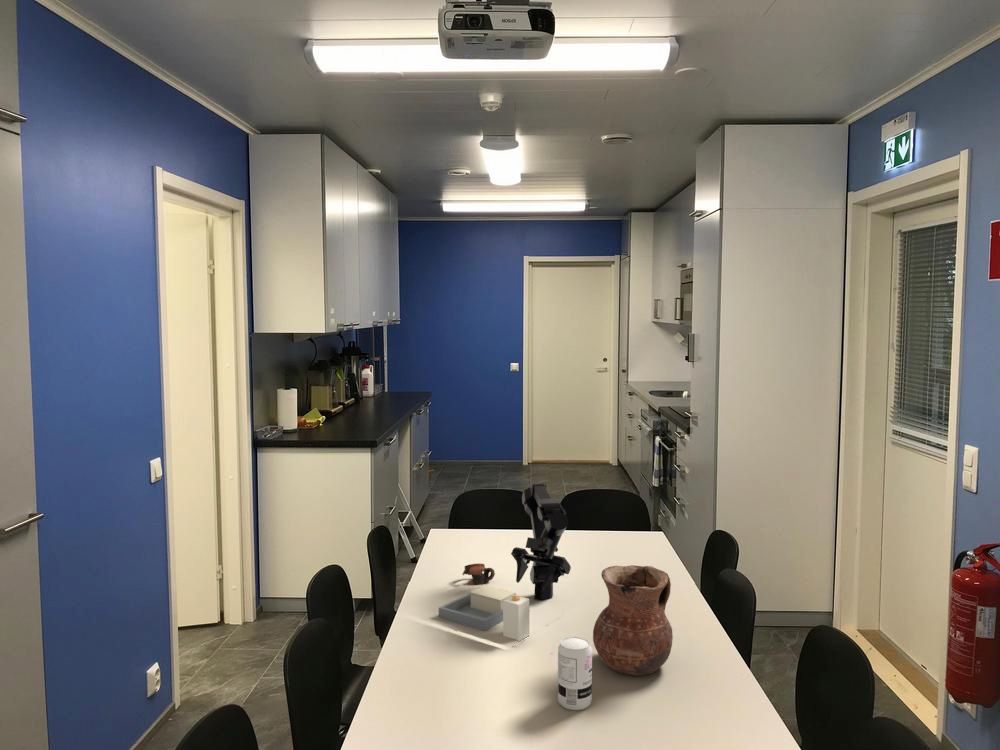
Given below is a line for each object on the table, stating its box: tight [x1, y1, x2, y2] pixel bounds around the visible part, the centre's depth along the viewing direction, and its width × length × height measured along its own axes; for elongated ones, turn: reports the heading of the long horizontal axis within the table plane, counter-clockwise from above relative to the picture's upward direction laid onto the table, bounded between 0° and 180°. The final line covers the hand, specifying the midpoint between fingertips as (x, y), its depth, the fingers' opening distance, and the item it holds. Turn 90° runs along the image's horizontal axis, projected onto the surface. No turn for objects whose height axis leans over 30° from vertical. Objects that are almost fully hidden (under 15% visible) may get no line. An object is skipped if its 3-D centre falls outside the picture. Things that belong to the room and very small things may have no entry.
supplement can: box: [557, 636, 593, 711], centre depth 180 cm, size 8×8×15 cm
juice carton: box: [502, 594, 530, 644], centre depth 218 cm, size 6×6×12 cm
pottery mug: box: [462, 562, 496, 586], centre depth 264 cm, size 12×10×8 cm
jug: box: [592, 565, 674, 677], centre depth 201 cm, size 22×21×25 cm
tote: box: [438, 592, 503, 632], centre depth 235 cm, size 22×18×4 cm
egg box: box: [469, 584, 517, 614], centre depth 239 cm, size 8×12×5 cm
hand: (529, 585), depth 223 cm, fingers open, 9 cm apart
